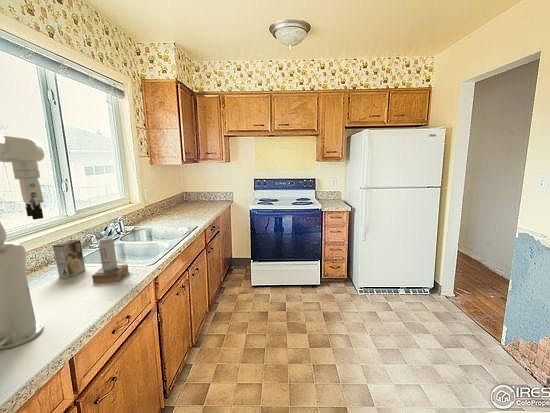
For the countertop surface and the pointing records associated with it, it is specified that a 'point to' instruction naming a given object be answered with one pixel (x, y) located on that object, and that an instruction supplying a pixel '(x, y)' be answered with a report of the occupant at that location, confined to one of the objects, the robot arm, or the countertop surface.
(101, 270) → the plate
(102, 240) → the energy drink can
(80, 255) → the coffee box
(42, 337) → the countertop surface
